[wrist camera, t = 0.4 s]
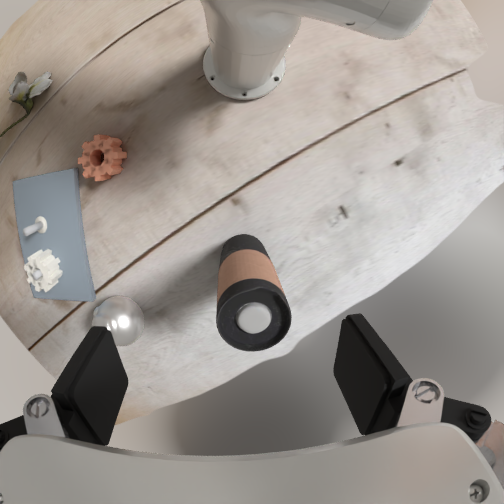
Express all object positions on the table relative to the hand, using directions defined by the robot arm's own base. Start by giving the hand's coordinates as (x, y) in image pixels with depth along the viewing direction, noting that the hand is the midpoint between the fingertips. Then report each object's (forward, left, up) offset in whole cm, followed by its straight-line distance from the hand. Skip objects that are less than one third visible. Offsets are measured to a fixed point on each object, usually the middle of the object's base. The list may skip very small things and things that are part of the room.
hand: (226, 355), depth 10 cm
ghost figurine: (+18, -20, -35) cm, 44 cm away
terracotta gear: (-9, -20, -34) cm, 40 cm away
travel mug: (+8, +2, -35) cm, 36 cm away
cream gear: (+9, -35, -33) cm, 48 cm away
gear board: (+4, -34, -34) cm, 48 cm away
